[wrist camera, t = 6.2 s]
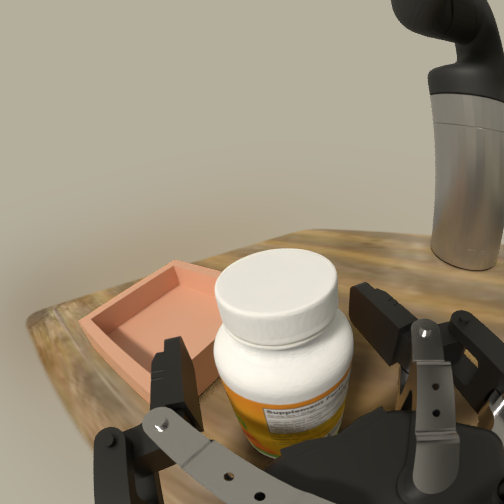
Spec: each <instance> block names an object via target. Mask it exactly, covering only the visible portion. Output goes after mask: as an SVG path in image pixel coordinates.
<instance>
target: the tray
mask: <svg viewBox="0 0 504 504" xmlns="http://www.w3.org/2000/svg"><path fill="white" fill-rule="evenodd" d="M221 273H222V272H221V271H217V270H213V269H209V268H205V267H201V266H198V265H194V264H190V263H185V262H182V261H178V260H174V261H172V262H170V263H169V264H167V265H165V266H164V267H162V268H160V269H159V270H157V271H156V272H154V273H152V274H151V275H149V276H147V277H146V278H144V279H143V280H141V281H139V282H138V283H136V284H135V285H133V286H132V287H130V288H128V289H127V290H125V291H124V292H122V293H121V294H119V295H117V296H116V297H114V298H113V299H111V300H110V301H108V302H107V303H105V304H103V305H102V306H100V307H99V308H97V309H96V310H94V311H93V312H91V313H90V314H88V315H87V316H85V317H84V318H82V319H81V320H79V321H78V322H79V323H80V325H81V327H82V329H83V330H84V332H85V334H86V336H87V337H88V339H89V341H90V342H91V344H92V345H93V347H94V348H95V349H96V350H97V351H98V353H99V354H100V355H101V356H102V357H103V358H104V359H105V360H106V361H107V363H108V364H109V365H110V366H111V367H112V368H113V369H114V370H115V371H116V372H117V373H118V374H119V375H120V376H121V377H122V378H123V379H124V380H125V381H126V382H127V383H128V384H129V385H130V386H131V387H132V388H133V389H134V390H135V391H136V392H137V393H138V394H140V395H141V396H142V397H143V398H144V399H145V400H146V401H147V402H148V403H149V404H150V386H151V362H152V360H153V358H154V356H155V354H156V353H159V352H163V351H164V340H165V339H169V338H173V337H178V336H181V337H182V339H183V341H184V344H185V346H186V348H187V350H188V353H189V355H190V357H191V359H192V362H193V365H194V369H195V375H196V383H197V390H198V396H199V395H201V394H202V393H203V392H204V391H205V390H206V389H207V388H208V387H209V386H210V385H211V384H212V383H213V382H214V381H215V380H216V379H217V378H218V377H219V376H220V375H219V373H218V370H217V367H216V363H215V359H214V342H215V338H216V335H217V332H218V330H219V328H220V327H221V325H222V323H223V322H222V319H221V316H220V312H219V309H218V305H217V301H216V297H215V284H216V281H217V279H218V277H219V276H220V274H221Z"/></svg>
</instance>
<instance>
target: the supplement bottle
mask: <svg viewBox="0 0 504 504" xmlns="http://www.w3.org/2000/svg"><path fill="white" fill-rule="evenodd" d="M215 297H216V301H217V305H218V309H219V312H220V316H221V319H222V322H223V323H222V325H221V327H220V328H219V330H218V332H217V335H216V338H215V342H214V359H215V363H216V367H217V370H218V373H219V375H220V378H221V380H222V383H223V385H224V388H225V390H226V392H227V395H228V397H229V400H230V402H231V404H232V407H233V409H234V411H235V414H236V416H237V418H238V420H239V423H240V425H241V427H242V429H243V431H244V433H245V436H246V437H247V439H248V441H249V442H250V443H251V445H252V446H253V447H254V448H255V449H256V450H258V451H259V452H260V453H262V454H264V455H266V456H268V457H270V458H274V459H276V458H277V457H279V456H281V453H280V449H282V448H285V447H288V446H291V445H294V444H297V443H300V442H303V441H306V440H310V439H317V438H323V437H329V436H334V435H337V433H338V430H339V428H340V425H341V422H342V417H343V413H344V407H345V402H346V397H347V391H348V384H349V379H350V372H351V366H352V360H353V350H354V338H353V332H352V328H351V326H350V323H349V321H348V319H347V318H346V316H345V315H344V314H343V312H342V311H341V310H340V309H339V308H338V277H337V272H336V269H335V267H334V265H333V264H332V263H331V262H330V261H329V260H328V259H327V258H325V257H324V256H322V255H320V254H318V253H315V252H312V251H308V250H303V249H273V250H266V251H262V252H258V253H255V254H251V255H249V256H246V257H244V258H241V259H239V260H238V261H236V262H234V263H233V264H231V265H229V266H228V267H227V268H226V269H225V270H224V271H223V272H222V273H221V274H220V276H219V277H218V279H217V281H216V284H215Z"/></svg>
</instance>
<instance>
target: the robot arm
mask: <svg viewBox="0 0 504 504" xmlns="http://www.w3.org/2000/svg"><path fill="white" fill-rule="evenodd" d="M391 3H392V7H393V11H394V13H395V15H396V17H397V18H398V20H399V21H400V23H402V25H404V26H405V27H406V28H407V29H409V30H411V31H413V32H415V33H418V34H421V35H424V36H427V37H431V38H436V39H441V40H445V41H449V42H454V43H455V46H456V52H457V62H456V63H454V64H450V65H445V66H441V67H437V68H434V69H433V70H431V71H430V72H429V74H428V85H429V91H430V95H431V96H430V98H431V106H432V115H433V122H434V123H433V124H434V137H435V164H436V165H435V166H436V177H435V179H436V181H435V206H434V219H433V231H432V240H431V248H432V251H433V252H434V253H435V254H436V255H437V256H438V257H439V258H440V259H442V260H444V261H445V262H447V263H449V264H451V265H454V266H457V267H460V268H464V269H469V270H485V269H489V268H491V267H493V266H494V265H495V264H496V261H497V258H498V253H499V249H500V244H501V239H502V233H503V228H504V52H503V48H502V43H501V39H500V35H499V31H498V28H497V24H496V21H495V18H494V15H493V13H492V10H491V8H490V6H489V4H488V2H487V0H391ZM349 317H350V320H351V322H352V323H353V325H354V326H355V327H356V328H357V329H358V330H359V331H360V333H361V334H362V335H363V336H364V337H365V338H366V339H367V341H368V342H369V343H370V344H371V345H372V346H373V348H374V349H375V350H376V351H377V352H378V353H379V355H380V356H381V357H382V358H383V359H384V360H385V362H386V363H387V364H388V365H389V366H391V365H393V364H395V363H397V362H398V363H399V364H400V366H399V376H398V394H397V403H396V407H395V410H391V411H386V412H385V410H384V409H383V407H382V406H381V407H379V408H377V409H375V410H374V411H372V412H370V413H368V414H366V415H364V416H362V417H360V418H358V419H357V420H356V421H355V422H353V423H352V424H351V425H350V426H348V427H347V428H346V429H344V430H343V431H342V432H340V433H339V434H337V435H334V436H329V437H323V438H317V439H310V440H306V441H303V442H300V443H297V444H294V445H291V446H288V447H285V448H282V449H280V453H281V456H279V457H277V458H276V459H274V460H273V461H271V462H270V463H269V464H268V465H267V466H266V467H265V468H264V469H263V470H260V469H259V468H257V467H255V466H254V465H252V464H250V463H249V462H247V461H246V460H244V459H242V458H241V457H239V456H238V455H236V454H235V453H233V452H232V451H230V450H229V449H227V448H226V447H224V446H223V445H221V444H220V443H218V442H217V441H215V440H210V439H208V438H207V437H205V436H204V435H203V434H201V433H200V432H203V431H204V429H203V423H202V417H201V410H200V404H199V397H198V390H197V383H196V375H195V369H194V365H193V362H192V359H191V357H190V355H189V353H188V350H187V348H186V346H185V344H184V341H183V339H182V337H181V336H178V337H173V338H169V339H165V340H164V351H163V352H159V353H156V354H155V356H154V358H153V360H152V362H151V386H150V411H149V412H148V413H147V414H146V415H145V417H144V419H143V422H142V423H141V424H140V425H138V426H136V427H134V428H131V429H129V430H126V431H124V432H122V431H121V430H119V429H117V428H115V427H108V428H105V429H103V430H101V431H100V432H99V433H98V434H97V435H96V437H95V440H94V497H95V504H164V500H163V495H162V490H161V484H160V478H159V472H158V471H161V470H163V469H165V468H168V467H170V466H172V465H175V464H178V465H179V466H180V467H181V468H182V469H183V470H184V471H185V472H187V473H188V474H189V475H190V476H191V477H192V478H194V479H195V480H196V481H197V482H199V483H200V484H201V485H202V486H204V487H205V488H206V489H207V490H209V491H210V492H211V493H213V494H214V495H215V496H217V497H218V498H220V499H221V500H222V501H224V502H225V503H227V504H504V343H503V342H502V341H501V340H500V339H499V338H498V337H497V336H496V335H495V334H494V333H493V332H491V331H490V330H489V329H488V328H487V327H486V326H485V325H484V324H483V323H481V322H480V321H479V320H478V319H477V318H476V317H475V316H473V315H472V314H471V313H469V312H467V311H463V310H459V311H456V312H454V313H453V314H452V316H451V319H450V321H449V322H445V323H441V324H436V323H435V322H434V321H432V320H429V319H419V320H418V319H417V318H416V317H415V316H414V315H412V314H411V313H410V312H409V311H408V310H407V309H405V308H404V307H403V306H402V305H401V304H399V303H398V302H397V301H396V300H395V299H393V297H391V296H390V295H389V294H388V293H387V292H385V291H382V290H380V289H377V288H376V289H374V288H373V287H372V286H371V285H369V284H368V283H367V282H363V283H361V284H358V285H355V286H352V287H351V288H350V300H349ZM465 349H467V350H468V351H469V352H470V353H471V354H472V355H473V356H474V357H475V358H476V359H477V361H478V368H477V367H476V366H475V365H474V364H473V363H472V362H471V361H470V360H469V359H468V358H467V356H466V355H465V354H464V351H465ZM453 384H454V385H455V387H456V388H457V389H458V390H459V391H460V393H461V394H462V395H463V396H464V398H465V399H466V400H467V401H468V403H469V404H470V405H471V406H472V408H473V409H474V410H475V411H476V413H477V414H478V421H479V422H478V424H477V427H475V426H470V425H465V424H460V423H456V414H455V396H454V385H453Z"/></svg>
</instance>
